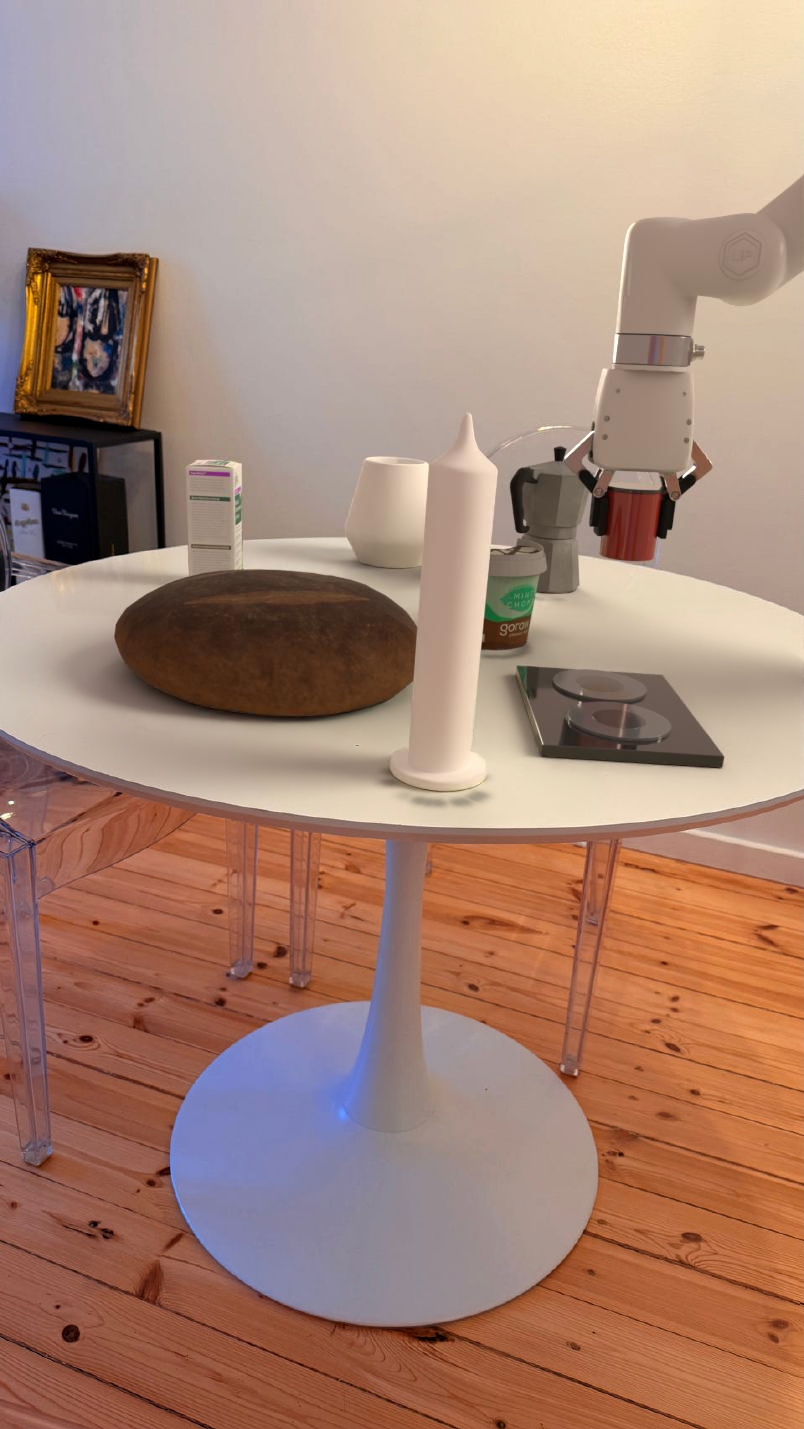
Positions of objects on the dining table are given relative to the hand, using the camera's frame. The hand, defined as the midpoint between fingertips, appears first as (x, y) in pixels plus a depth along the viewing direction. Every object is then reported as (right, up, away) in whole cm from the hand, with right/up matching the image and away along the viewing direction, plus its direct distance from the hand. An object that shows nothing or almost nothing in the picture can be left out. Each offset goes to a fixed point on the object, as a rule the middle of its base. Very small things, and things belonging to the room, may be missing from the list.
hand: (629, 533), depth 105 cm
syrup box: (-47, -3, +16) cm, 50 cm away
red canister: (0, -2, +1) cm, 2 cm away
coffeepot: (-6, -2, +26) cm, 27 cm away
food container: (-13, -12, -1) cm, 18 cm away
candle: (-22, -24, -33) cm, 46 cm away
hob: (-6, -19, -20) cm, 29 cm away
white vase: (-26, +2, +35) cm, 43 cm away
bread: (-36, -15, -14) cm, 42 cm away
